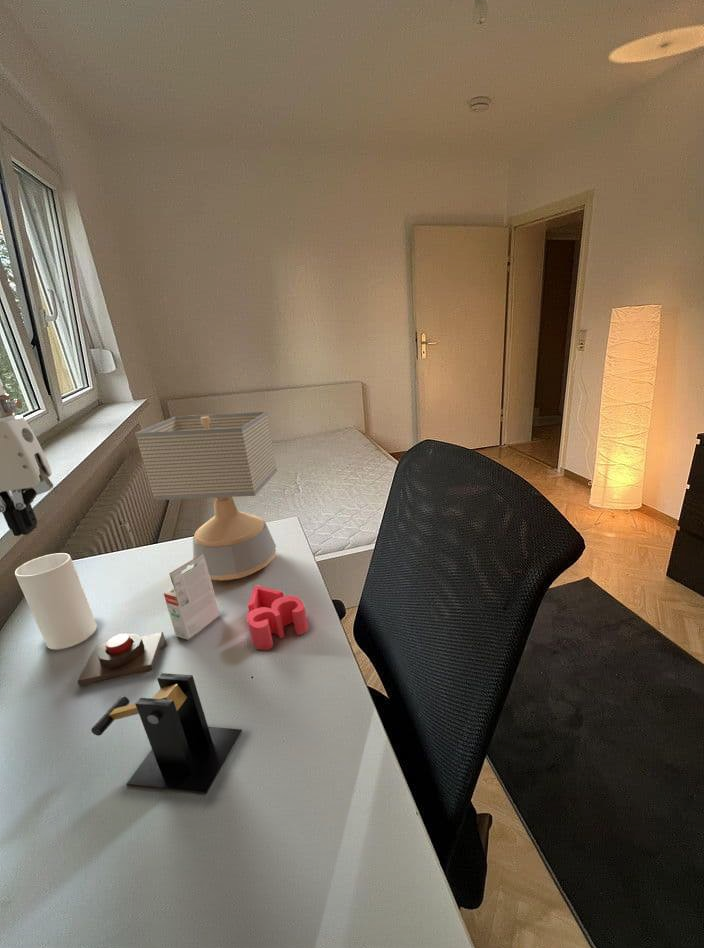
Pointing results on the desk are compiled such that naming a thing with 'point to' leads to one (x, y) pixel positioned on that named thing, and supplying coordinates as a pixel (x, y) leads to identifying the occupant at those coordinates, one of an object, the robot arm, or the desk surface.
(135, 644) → the button block
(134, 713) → the switch lever
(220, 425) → the desk lamp
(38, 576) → the cup
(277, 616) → the letters
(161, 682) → the switch bracket
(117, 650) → the red button
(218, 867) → the desk surface
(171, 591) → the ink box
